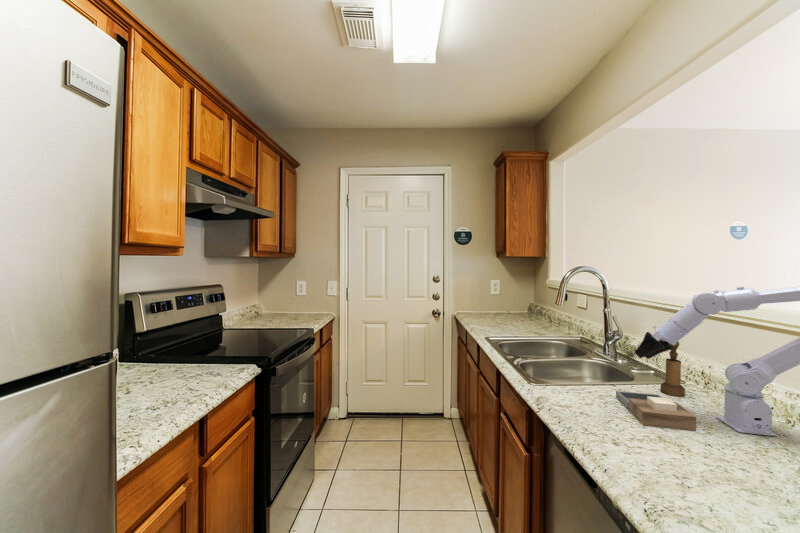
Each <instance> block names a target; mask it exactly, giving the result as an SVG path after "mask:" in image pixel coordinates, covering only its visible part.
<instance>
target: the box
mask: <svg viewBox="0 0 800 533" xmlns="http://www.w3.org/2000/svg"><path fill="white" fill-rule="evenodd" d="M647 396H650V397H661V398H663V397H662V396H661V394H660V395H659V394H654V393H653V394H651V393H642V392H632V391H630V392H629V391H620V390H619V391H618V390H616V391H615V398H616V399H617V398H618V399H619V400H618V399H617V400H618V401H619V402H620V403H621V404H622V405H623V406H624V407H625V408H626V409H627V410H629V398H632V399H643V400H647Z"/></svg>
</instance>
